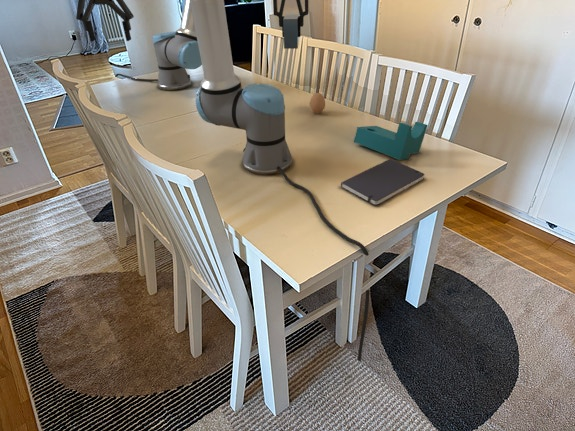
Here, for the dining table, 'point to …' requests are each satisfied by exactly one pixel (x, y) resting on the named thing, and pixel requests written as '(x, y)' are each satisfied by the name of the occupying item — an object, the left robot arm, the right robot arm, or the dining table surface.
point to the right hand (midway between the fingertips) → (291, 36)
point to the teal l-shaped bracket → (392, 139)
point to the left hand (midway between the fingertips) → (111, 40)
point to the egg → (317, 103)
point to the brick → (291, 31)
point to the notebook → (382, 181)
